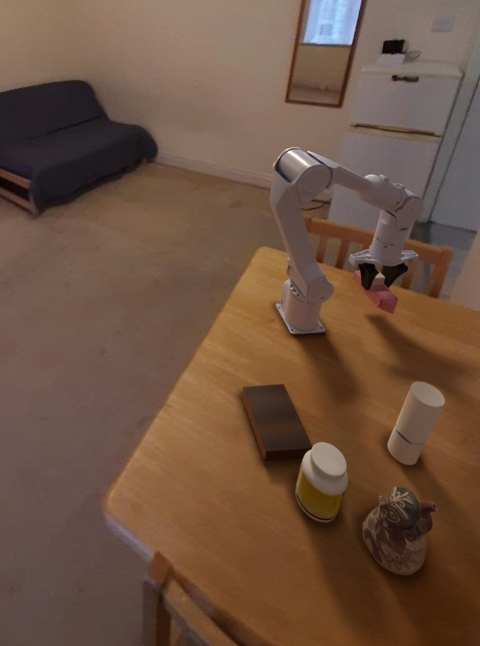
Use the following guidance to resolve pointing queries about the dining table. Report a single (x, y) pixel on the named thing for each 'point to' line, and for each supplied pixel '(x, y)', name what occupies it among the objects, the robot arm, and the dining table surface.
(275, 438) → the walnut block
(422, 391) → the tube
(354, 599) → the dining table surface
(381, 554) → the figurine
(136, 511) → the dining table surface
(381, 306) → the boat
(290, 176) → the robot arm
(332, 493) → the pill bottle
